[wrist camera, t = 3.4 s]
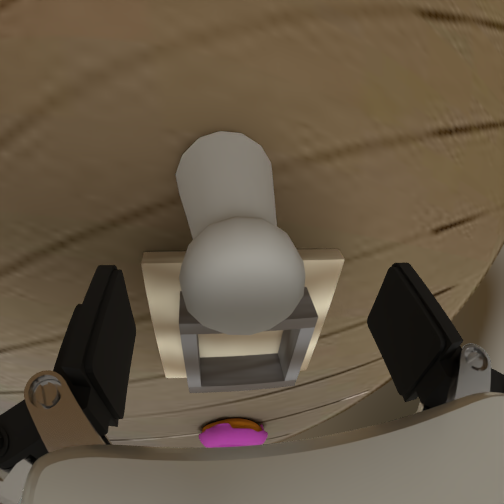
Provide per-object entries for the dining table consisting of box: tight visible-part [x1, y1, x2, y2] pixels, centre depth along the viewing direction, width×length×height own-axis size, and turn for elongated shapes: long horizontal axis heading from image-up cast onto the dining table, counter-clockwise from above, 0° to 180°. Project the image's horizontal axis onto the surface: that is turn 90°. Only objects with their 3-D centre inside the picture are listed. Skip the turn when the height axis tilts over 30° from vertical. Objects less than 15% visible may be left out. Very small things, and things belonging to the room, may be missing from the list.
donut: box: [199, 418, 268, 448], centre depth 43 cm, size 10×10×5 cm
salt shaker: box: [175, 131, 305, 335], centre depth 15 cm, size 6×6×13 cm
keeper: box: [141, 249, 345, 393], centre depth 27 cm, size 16×16×5 cm
